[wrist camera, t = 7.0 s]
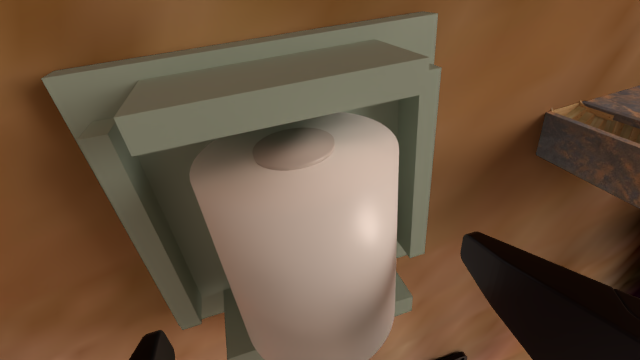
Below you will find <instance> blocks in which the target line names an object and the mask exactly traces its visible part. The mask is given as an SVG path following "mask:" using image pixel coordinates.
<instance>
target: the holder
mask: <svg viewBox="0 0 640 360" xmlns="http://www.w3.org/2000/svg"><path fill="white" fill-rule="evenodd" d="M437 19H438V13H430V12H417V13H411V14H405V15H399V16H392V17H386V18H380V19H374V20H367V21H361V22H355V23H349V24H343V25H336V26H330V27H324V28H318V29H312V30H305V31H299V32H293V33H287V34H281V35H274V36H268V37H262V38H256V39H250V40H243V41H237V42H231V43H225V44H219V45H212V46H206V47H200V48H194V49H188V50H181V51H175V52H169V53H163V54H157V55H150V56H144V57H138V58H132V59H125V60H119V61H113V62H107V63H101V64H94V65H88V66H82V67H76V68H70V69H63V70H57V71H53V72H52V73H50V74H48V75H46V76H45V77H43V78H41V79H42V81H43V83H44V85H45V86H46V88H47V90H48V92H49V94H50V95H51V97H52V99H53V101H54V103H55V104H56V106H57V108H58V110H59V111H60V113H61V115H62V117H63V119H64V120H65V122H66V124H67V126H68V128H69V129H70V131H71V133H72V135H73V137H74V138H75V140H76V142H77V144H78V146H79V147H80V149H81V151H82V153H83V154H84V156H85V158H86V160H87V162H88V163H89V165H90V167H91V169H92V171H93V172H94V174H95V176H96V178H97V180H98V181H99V183H100V185H101V187H102V188H103V190H104V192H105V194H106V196H107V197H108V199H109V201H110V203H111V205H112V206H113V208H114V210H115V212H116V214H117V215H118V217H119V219H120V221H121V222H122V224H123V226H124V228H125V230H126V231H127V233H128V235H129V237H130V239H131V240H132V242H133V244H134V246H135V248H136V249H137V251H138V253H139V255H140V256H141V258H142V260H143V262H144V264H145V265H146V267H147V269H148V271H149V273H150V274H151V276H152V278H153V280H154V282H155V283H156V285H157V287H158V289H159V290H160V292H161V294H162V296H163V298H164V299H165V301H166V303H167V305H168V307H169V308H170V310H171V312H172V314H173V316H174V317H175V319H176V321H177V323H178V325H179V326H180V327H181V328H182V330H184V329H187V328H190V327H194V326H197V325H200V324H201V323H202V319H204V318H207V317H211V316H214V315H217V314H220V313H223V312H225V329H226V346H227V360H264V359H263V358H262V357H261V355H260V354H259V353H258V352H257V351H256V349H255V347H254V346H253V344H252V342H251V340H250V337H249V335H248V332H247V329H246V327H245V324H244V321H243V319H242V316H241V314H240V311H239V308H238V306H237V303H236V300H235V298H234V295H233V293H232V290H231V287H230V285H229V282H228V279H227V277H226V274H225V272H224V269H223V266H222V264H221V261H220V258H219V256H218V253H217V251H216V248H215V245H214V243H213V240H212V237H211V235H210V232H209V230H208V227H207V224H206V222H205V219H204V216H203V214H202V211H201V209H200V206H199V203H198V201H197V198H196V195H195V193H194V190H193V188H192V185H191V182H190V176H189V174H190V168H191V166H192V163H193V161H194V160H195V158H196V157H197V155H198V154H199V153H200V152H201V151H202V150H203V149H204V148H205V147H206V146H207V145H208V144H210V143H211V142H212V141H214V140H215V139H217V138H221V137H226V136H231V135H235V134H240V133H245V132H249V131H254V130H259V129H263V128H268V127H273V126H277V125H282V124H287V123H291V122H296V121H301V120H305V119H310V118H315V117H319V116H324V115H329V114H333V113H338V112H347V113H352V114H357V115H361V116H365V117H368V118H370V119H373V120H375V121H377V122H379V123H381V124H383V125H384V126H386V127H387V128H388V129H389V130H390V131H392V133H393V134H394V135H395V137H396V139H397V141H398V144H399V173H398V211H397V249H396V258H399V257H402V256H405V255H408V256H409V258H412V257H415V256H418V255H421V254H424V253H425V242H426V231H427V220H428V209H429V198H430V187H431V176H432V165H433V154H434V143H435V132H436V122H437V111H438V100H439V89H440V78H441V67H438V66H436V65H434V57H435V44H436V32H437ZM412 298H413V296H412V295H411V293H410V292H409V290H408V288H407V287H406V285H405V284H404V282H403V281H402V279H401V278H400V276H399V275H398V273H397V272H396V288H395V314H394V317H395V316H398V315H401V314H403V313H406V312H409V311H412Z"/></svg>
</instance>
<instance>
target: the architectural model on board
mask: <svg viewBox="0 0 640 360" xmlns="http://www.w3.org/2000/svg"><path fill="white" fill-rule="evenodd" d="M536 155H537V156H539V157H541V158H543V159H545V160H547V161H549V162H551V163H553V164H555V165H556V166H558V167H560V168H562V169H564V170H566V171H568V172H570V173H572V174H574V175H576V176H578V177H580V178H581V179H583V180H585V181H587V182H589V183H591V184H593V185H595V186H597V187H599V188H601V189H603V190H605V191H607V192H608V193H610V194H612V195H614V196H616V197H618V198H620V199H622V200H624V201H626V202H628V203H630V204H632V205H633V206H635V207H637V208H639V209H640V86H636V87H633V88H630V89H626V90H623V91H620V92H616V93H613V94H609V95H606V96H603V97H599V98H596V99H593V100H589V101H583V102H582V101H581V100H580V102H579V103H576V104H573V105H569V106H566V107H562V108H559V109H556V110H553V109H552V108H551V111H549V112H546V114H545V118H544V122H543V127H542V131H541V135H540V139H539V143H538V148H537V152H536Z"/></svg>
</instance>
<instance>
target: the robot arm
mask: <svg viewBox="0 0 640 360" xmlns="http://www.w3.org/2000/svg"><path fill="white" fill-rule="evenodd" d="M460 254H461V259H462V261H463V263H464V264H465V266H466V267H467V269H468V270H469V272H470V274H471V275H472V277H473V278H474V280H475V282H476V283H477V285H478V286H479V288H480V290H481V291H482V293H483V294H484V296H485V297H486V299H487V300H488V302H489V303H490V305H491V306H492V307H493V309H494V310H495V311H496V313H497V314H498V315H499V317H500V318H501V319H502V321H503V322H504V323H505V324H506V326H507V327H508V328H509V330H510V331H511V332H512V333H513V335H514V336H515V337H516V339H517V340H518V341H519V343H520V344H521V345H522V346H523V348H524V349H525V350H526V352H527V353H528V354H529V355H530V357H531V358H532V359H533V360H640V299H639V298H637V297H634V296H632V295H629V294H627V293H625V292H622V291H620V290H617V289H613V288H612V287H610V286H608V285H605V284H603V283H600V282H598V281H596V280H593V279H591V278H588V277H586V276H584V275H581V274H579V273H576V272H574V271H572V270H569V269H567V268H564V267H562V266H560V265H557V264H555V263H552V262H550V261H548V260H545V259H543V258H540V257H538V256H535V255H533V254H531V253H528V252H526V251H523V250H521V249H519V248H516V247H514V246H511V245H509V244H507V243H504V242H502V241H499V240H497V239H495V238H492V237H490V236H487V235H485V234H483V233H480V232H472V233H469V234H466V235H464V237H463V241H462V247H461V253H460ZM129 360H175V354H174V349H173V347H172V345H171V343H170V342H169V340H168V338H167V337H166V335H165V333H164V332H163V331H162V330H158V331H155V332H152V333H148V334H146V335H145V336H144V337H143V338H142V339H141V341H140V343H139V344H138V346H137V348H136V349H135V351H134V352H133V354H132V356H131V357H130V359H129ZM441 360H467V356H466V355H465V354H464V352H459V353H457V354H454V355H452V356H449V357H446V358H444V359H441Z"/></svg>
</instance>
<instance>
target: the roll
mask: <svg viewBox="0 0 640 360" xmlns="http://www.w3.org/2000/svg"><path fill="white" fill-rule="evenodd" d="M398 173H399V144H398V141H397V139H396V137H395V135H394V134H393V133H392V131H390V130H389V129H388V128H387V127H386V126H384V125H383V124H381V123H379V122H377V121H375V120H373V119H370V118H368V117H365V116H361V115H357V114H352V113H347V112H338V113H333V114H329V115H324V116H319V117H315V118H310V119H305V120H301V121H296V122H291V123H287V124H282V125H277V126H273V127H268V128H263V129H259V130H254V131H249V132H245V133H240V134H235V135H231V136H226V137H221V138H217V139H215V140H214V141H212V142H211V143H210V144H208V145H207V146H206V147H205V148H204V149H203V150H202V151H201V152H200V153H199V154H198V155H197V157H196V158H195V160H194V161H193V163H192V166H191V168H190V174H189V176H190V182H191V185H192V188H193V190H194V193H195V195H196V198H197V201H198V203H199V206H200V209H201V211H202V214H203V216H204V219H205V222H206V224H207V227H208V230H209V232H210V235H211V237H212V240H213V243H214V245H215V248H216V251H217V253H218V256H219V258H220V261H221V264H222V266H223V269H224V272H225V274H226V277H227V279H228V282H229V285H230V287H231V290H232V293H233V295H234V298H235V300H236V303H237V306H238V308H239V311H240V314H241V316H242V319H243V321H244V324H245V327H246V329H247V332H248V335H249V337H250V340H251V342H252V344H253V346H254V347H255V349H256V351H257V352H258V353H259V354H260V355H261V357H262V358H263V359H264V360H369V359H370V358H371V357H372V356H373V355H374V354H375V353H376V352H377V351H378V350H379V349H380V348H381V346H382V345H383V343H384V342H385V340H386V339H387V337H388V335H389V333H390V330H391V328H392V324H393V321H394V314H395V288H396V249H397V211H398Z"/></svg>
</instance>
